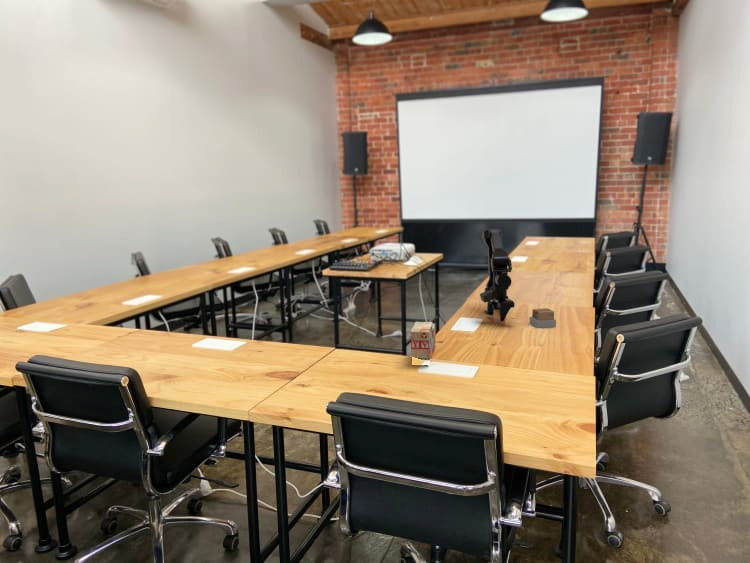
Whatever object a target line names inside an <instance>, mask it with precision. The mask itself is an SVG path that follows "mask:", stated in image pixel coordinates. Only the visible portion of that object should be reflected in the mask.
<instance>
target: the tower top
mask: <svg viewBox="0 0 750 563" xmlns="http://www.w3.org/2000/svg"><path fill="white" fill-rule="evenodd" d="M531 313H532V316H531V317H533V318H535V319H537V320H538V321H544V320H554V319H555V311H553V310H552V309H550V308H548V307H544V308H543V307H542V308H532V312H531Z"/></svg>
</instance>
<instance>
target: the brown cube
mask: <svg viewBox="0 0 750 563" xmlns="http://www.w3.org/2000/svg"><path fill="white" fill-rule="evenodd" d="M492 315H493V323H494V324H500V323H501V324H505V322H507V316H506V317H505V319H504V321H501V319H500V312H499V309H497V310H494V314H492Z"/></svg>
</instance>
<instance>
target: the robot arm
mask: <svg viewBox="0 0 750 563" xmlns="http://www.w3.org/2000/svg"><path fill="white" fill-rule="evenodd" d="M481 234H482V236H481V238H482V240H483V245H484V246H485V247H486V248H487V262H488V264H487V266H488V281H486V282H487V283H486V284H485V287H484V292H481V293H479V297H480V300H481V302H483V303H484V304H485V303H486V305H487V307H486V310H484V313H486V314H487V315H493V314H494V310H497V309H499V312H500V319H501V321H504V319H505V317H506V318H507V315H508V314H509V312H510V310H511V309H512V308H515V304H516V303H515V301H513V300H512V299H511V298H509V296H508V290H509V288H510V286H511V284H512V278H511V276H509V273H512V270H513V265H512V264H513V263H512V260H511V258H510V257H509V254H508V252H507V251H506V250H504V246H503V241H502V239H503V230H502V229H499V228H485V229H484V230H483V231H482V233H481Z"/></svg>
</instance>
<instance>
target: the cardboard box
mask: <svg viewBox="0 0 750 563" xmlns="http://www.w3.org/2000/svg"><path fill="white" fill-rule="evenodd" d="M435 350H436V323H433V321H415V322H414V324H413V326H412V328H411V330H410V351H411V352H410V358H411V357H415V358H418V359H421V360H430V359H432V360H433V355H434V353H435Z"/></svg>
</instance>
